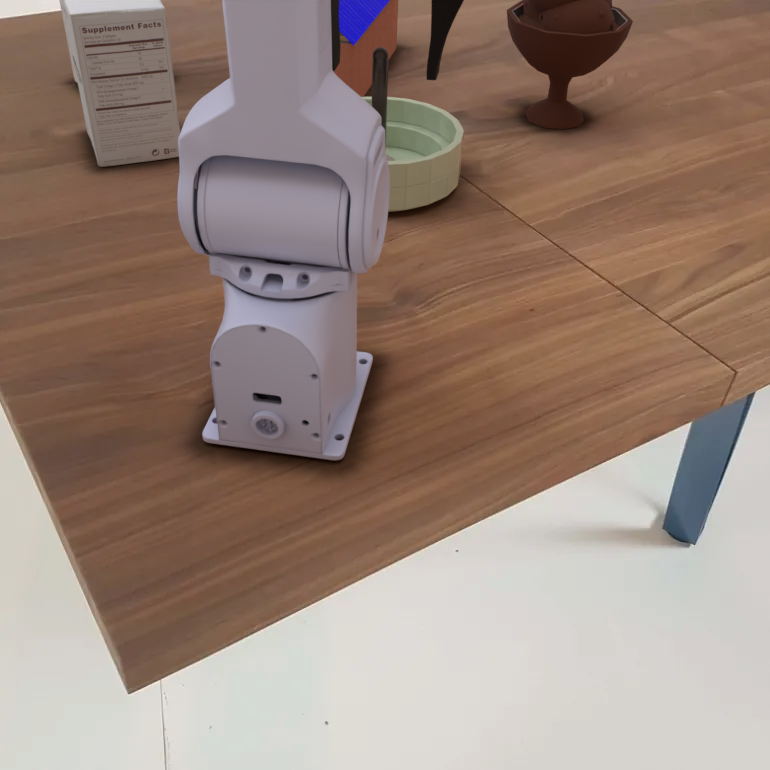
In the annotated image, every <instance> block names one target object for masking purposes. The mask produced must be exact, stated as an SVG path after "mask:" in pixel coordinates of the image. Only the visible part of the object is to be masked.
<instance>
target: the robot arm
mask: <svg viewBox="0 0 770 770" xmlns="http://www.w3.org/2000/svg"><path fill="white" fill-rule="evenodd" d="M464 1H465V0H431V7H430V8H431V11H430V13H431V14H430V15H431V16H430V18H431V19H430V40H429V48H428V55H427V63H426V80H427V81H437V79H438V75H439V73H440V68H441V67H440V66H441V61H442V57H443V51H444V49H445V45H446V41H447V38H448V35H449V33H450V30H451V28H452V25H453V23H454V21H455V19H456V17H457V15H458V13H459V11H460V9H461V7H462V5H463V3H464ZM221 3H222V4H221V5H222V12H223V24H224V32H225V33H224V34H225V42H226V52H227V61H228V70H229V71H228V72H229V77H228V78H227V79H226V80H224V81H223V82H222V83H220V84H219V85H217V86H216V87H215V88H213V89H212V90H210V91H209V92H207V93H206V94H205V95H204V96H202V97H201V98H200V99H199V100H198V101H197V102H196V103H195V104H194V105H193V106H192V107H191V109H190V111H189V112H188V114H187V116H186V117H185V119H184V121H183V125H182V127H181V129H180V135H179V138H178V149H179V157H178V163H179V175H178V182H177V192H176V193H177V196H176V197H177V201H176V204H177V215H178V217H177V218H178V222H179V226H180V229H181V233H182V234H183V237H184V238H185V239H186V241H187V243H188V245H189V247H190V248H191V250H192V251H194V253H196V254H198V255H201V256H202V255H203V256H208V264H209V265H208V266H209V273H210V275H211V276H213V277H214V276H215V277H220V278H222V287H223V288H222V289H223V299H224V310H223V316H222V320H221V323H220V325H219V328H218V331H217V333H216V334H215V337H214V339H213V341H212V344H211V346H210V347H211V348H210V353H209V367H210V377H211V385H212V392H213V393H212V394H213V401H214V407H213V410H212V412H211V414H210V416H209V417H208V420H207V422H206V424H205V426H204V428H203V430H202V431H201V432H202V433H201V436H202V440H203V441H204V442H205V443H208V444H212V445H213V444H214V445H219V446H227V447H234V448H241V449H242V448H243V449H249V450H255V451H264V452H271V453H278V454H284V455H285V454H286V455H292V456H299V457H306V458H313V459H320V460H328V461H340V460H342V459H343V458H344V457H345V455H346V451H347V448H348V445H349V442H350V439H351V434H352V432H353V428H354V425H355V422H356V420H357V419H356V418H357V415H358V411H359V409H360V406H361V402H362V399H363V396H364V392H365V388H366V386H367V382H368V379H369V375H370V372H371V369H372V366H373V363H374V359H373V358H374V357H373V355H372V354H371V353H370V352H366V351H358V350H357V349H358V346H357V345H358V344H357V343H358V274H361V275H365V274H367V273H368V272H369V271H370V269H371V268H372V267H374V266H375V265H376V264H377V263H378V261H379V260H380V257H381V254H382V250H383V247H384V243H385V238H386V233H387V232H386V231H387V225H388V217H389V212H388V209H389V196H390V172H389V165H388V162H387V160H386V148H385V129H384V128H383V126H381V119H382V118H381V116H380V114H379V113H378V112H377V111H376V110H375V109H374V108H373V107H372V106H371V105H370V104H369V103H367V102H366V101H365V100H364V99H363V98H362V97H360V96H359V95H358V94H357V93H356V92H355V91H353V90H352V89H351V88H350V87H349V86H348V85H346V84H345V83H344V82H343V81H342V80H341V79H340V78H339V77H338V76H337V75H336V74H335V73H334V72H333V71H335V69H336V68H337V66H338V65H339V63H340V29H339V0H221Z"/></svg>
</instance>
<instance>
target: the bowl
mask: <svg viewBox="0 0 770 770" xmlns="http://www.w3.org/2000/svg"><path fill="white" fill-rule="evenodd" d="M362 98H363V99H364V100H365V101H366V102H367V103H369V104H370V105H371V106H372V96H364V97H362ZM464 134H465V130H464V128H463V126H462V124H461V122H460V120H459V119H458V118H456V117H455V116H454V115H453V114H451V113H450V112H448V111H447V110H446V109H443V108H441V107H438V106H436V105H434V104H431V103H428V102H425V101H424V102H423V101H419V100H416V99H411V98H406V97H397V96H396V97H395V96H387V124H386V155H388V156H390V157H392V158H394V159H395V160H396V161H387V162H388V165H389V172H390V196H389V209H388V213H391V212H403V211H409V210H414V209H417V208H421V207H425V206H428V205H431V204H433V203H435V202H438V201H440V200H442V199H445V198H446V197H448V196H449V195H450V194H451V193H452V192H453V191H454V190H455V189H456V188H457V187H458V185H459V182H460V176H461V170H462V158H463V148H464V147H463V146H464Z"/></svg>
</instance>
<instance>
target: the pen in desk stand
mask: <svg viewBox="0 0 770 770" xmlns="http://www.w3.org/2000/svg"><path fill="white" fill-rule="evenodd" d="M388 83H389V60H388V51H387V50H386V49H385V48H383V47H378V48H376V49H375V50H374V51H373V58H372V85H371V97H372V107H373V108H374V109H375V110H376V111H377V112H378V113H379V114H380V116H381V118H382V119H381V126H383V128H384V129H385V148H386V124H387V97H388V87H389V86H388V85H389V84H388ZM386 160H387V161H396V160H395V159H394V158H392V157H390V156H388V155H386Z"/></svg>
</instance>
